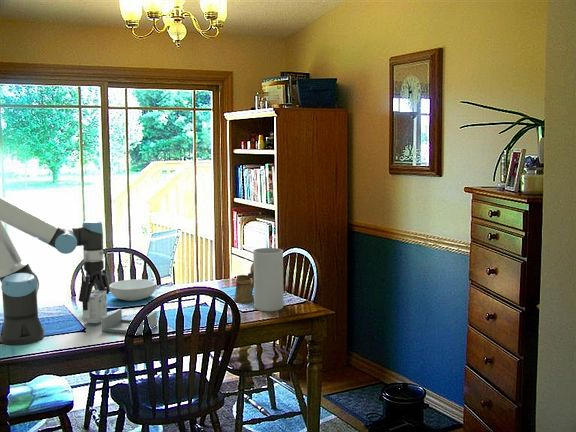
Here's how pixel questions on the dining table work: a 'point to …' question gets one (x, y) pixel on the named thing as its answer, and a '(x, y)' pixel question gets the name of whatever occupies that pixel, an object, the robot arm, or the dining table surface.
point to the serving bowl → (132, 289)
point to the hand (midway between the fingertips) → (95, 313)
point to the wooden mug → (245, 287)
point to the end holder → (123, 323)
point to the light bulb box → (97, 306)
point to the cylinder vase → (268, 279)
